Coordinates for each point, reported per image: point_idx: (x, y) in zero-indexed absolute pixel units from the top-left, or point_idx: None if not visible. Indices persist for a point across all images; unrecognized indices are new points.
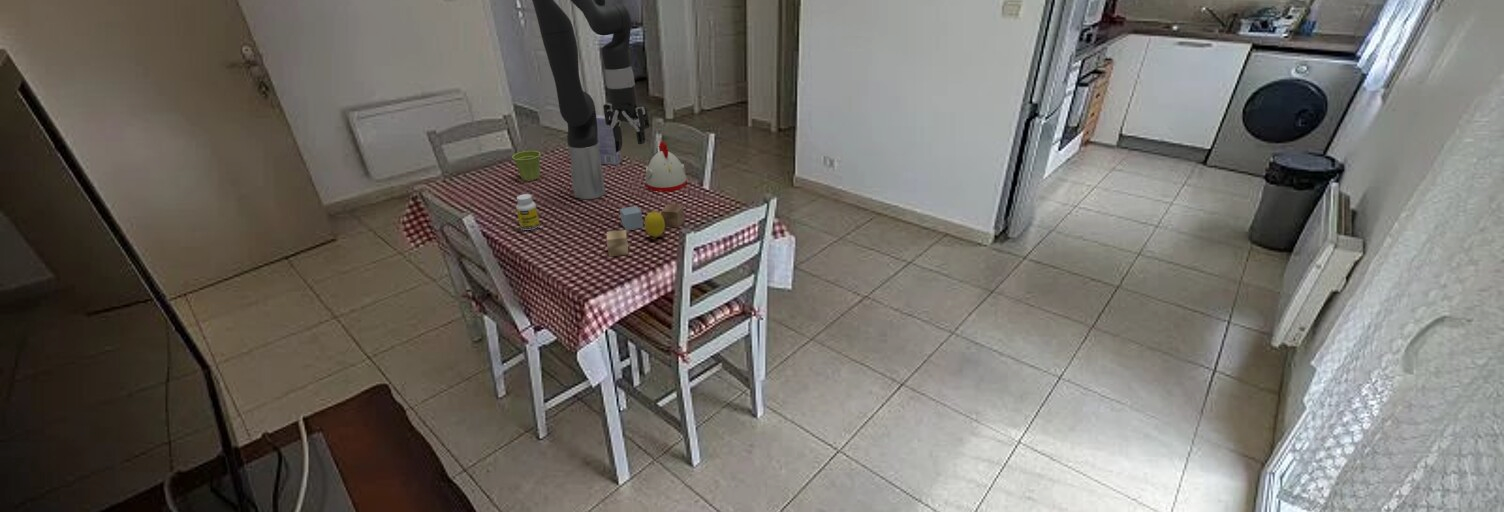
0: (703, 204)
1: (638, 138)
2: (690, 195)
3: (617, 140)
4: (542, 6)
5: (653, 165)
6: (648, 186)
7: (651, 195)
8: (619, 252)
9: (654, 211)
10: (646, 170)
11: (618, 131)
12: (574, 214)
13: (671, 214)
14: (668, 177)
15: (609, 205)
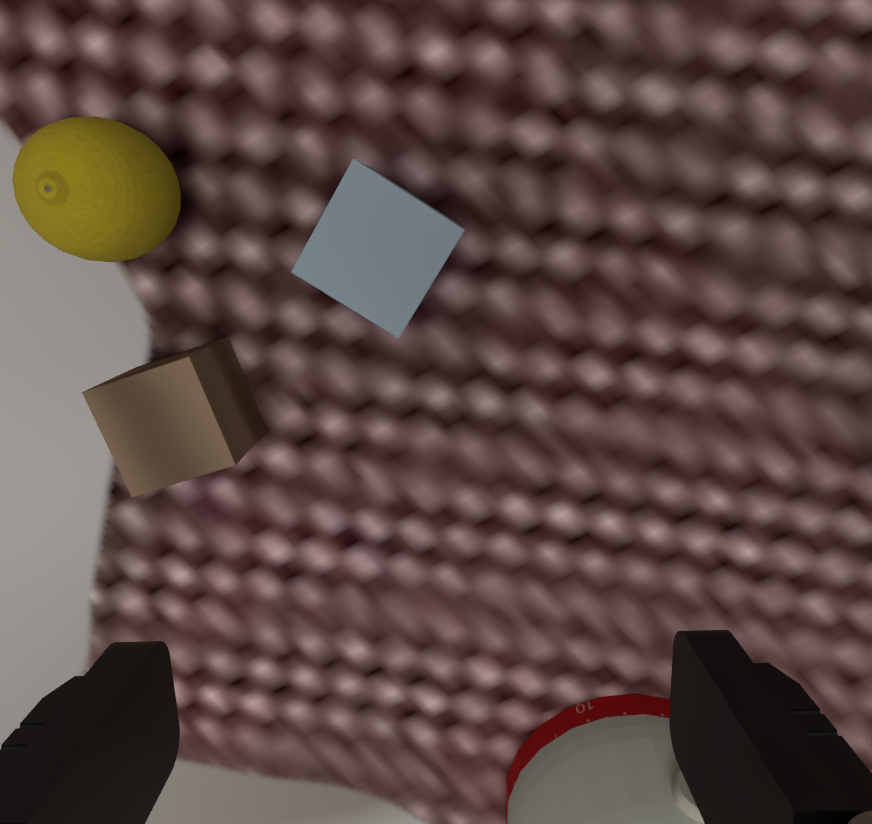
0: (248, 677)
1: (70, 706)
2: (395, 737)
3: (678, 636)
4: None
5: None
6: None
7: (598, 641)
8: None
9: (42, 194)
10: None
11: (738, 817)
12: (868, 172)
13: (130, 375)
14: (556, 804)
15: (740, 406)
